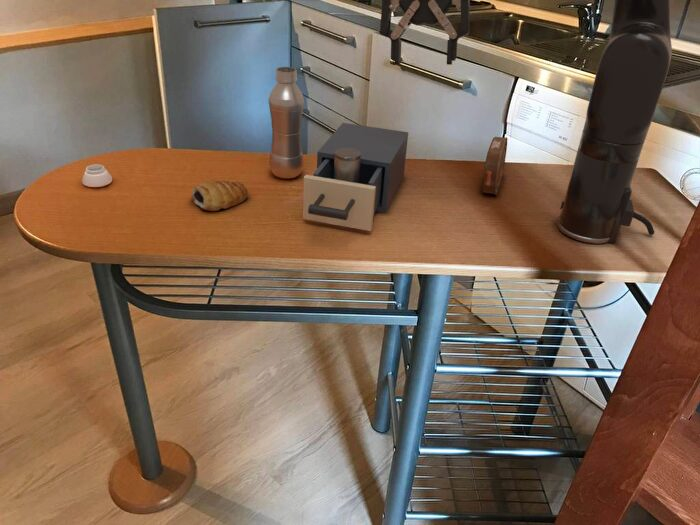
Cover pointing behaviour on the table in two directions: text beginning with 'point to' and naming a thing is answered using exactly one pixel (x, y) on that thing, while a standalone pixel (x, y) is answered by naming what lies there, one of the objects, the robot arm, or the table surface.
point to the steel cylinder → (347, 164)
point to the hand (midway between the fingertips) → (423, 64)
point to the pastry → (218, 194)
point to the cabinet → (372, 153)
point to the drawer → (343, 196)
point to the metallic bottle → (286, 124)
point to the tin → (494, 165)
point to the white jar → (96, 176)
